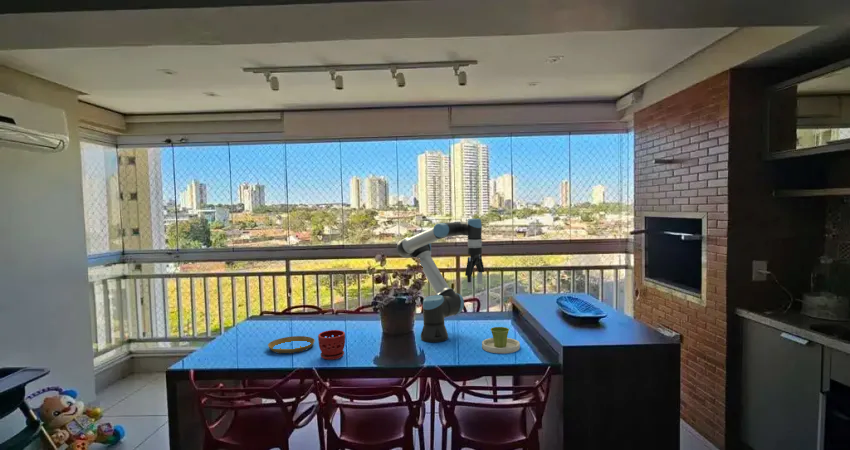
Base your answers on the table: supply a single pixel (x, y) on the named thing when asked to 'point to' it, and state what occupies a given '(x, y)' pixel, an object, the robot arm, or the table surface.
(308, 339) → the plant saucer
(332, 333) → the plant pot
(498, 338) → the plant pot
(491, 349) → the saucer
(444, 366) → the table surface
